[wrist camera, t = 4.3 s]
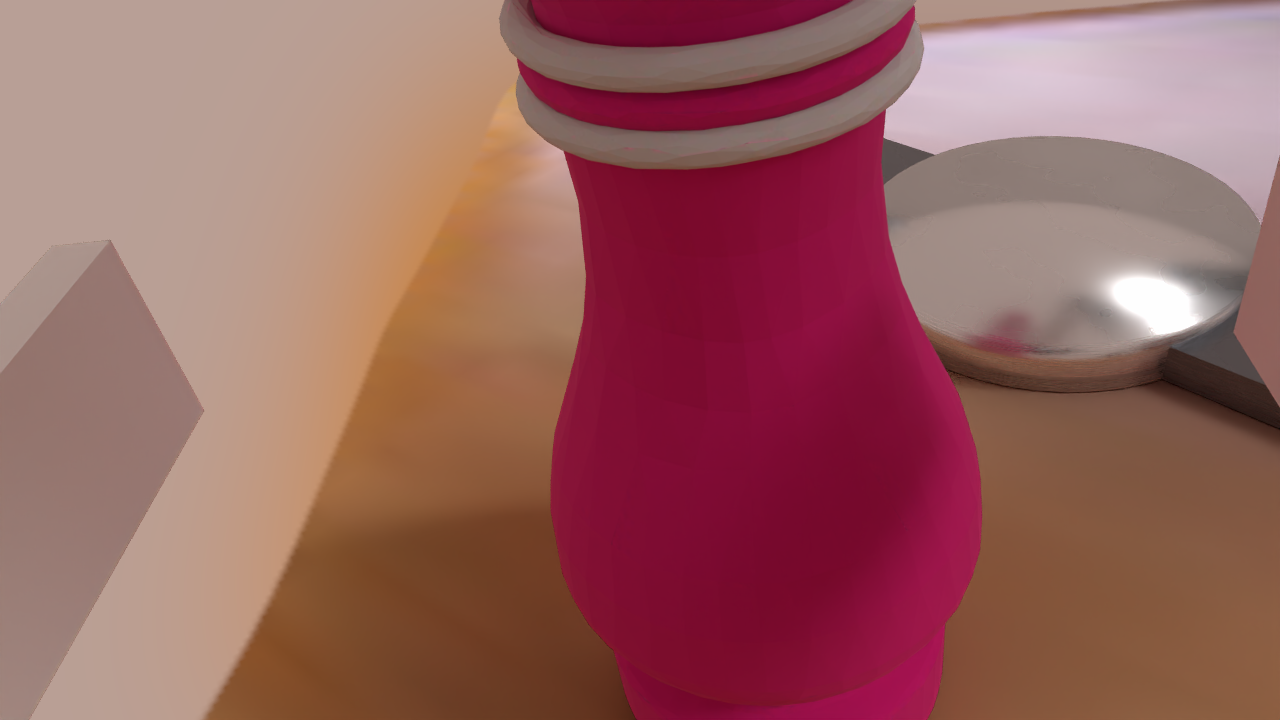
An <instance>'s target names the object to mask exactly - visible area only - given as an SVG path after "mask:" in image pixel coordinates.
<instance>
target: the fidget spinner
mask: <svg viewBox="0 0 1280 720" xmlns="http://www.w3.org/2000/svg"><path fill="white" fill-rule="evenodd" d="M881 164H882V174H883V184H884V193H885V203H886V212H887V222H888V232H889V239H890V242H891V246H892V249H893V253H894V256H895V260H896V263H897V266H898V270H899V273H900V277H901V280H902V283H903V286H904V288H905V290H906V292H907V295H908V297H909V299H910V302H911V304H912V306H913V308H914V311H915V313H916V315H917V318H918V320H919V322H920V324H921V326H922V328H923V330H924V332H925V333H926V335H927V337H928V339H929V341H930V342H931V344H932V346H933V348H934V350H935V351H936V353H937V355H938V357H939V359H940V360H941V362H942V364H943V366H944V368H946V369H949V370H951V371H953V372H956V373H959V374H962V375H965V376H968V377H971V378H975V379H978V380H981V381H985V382H990V383H994V384H999V385H1003V386H1008V387H1015V388H1022V389H1029V390H1036V391H1054V392H1094V391H1104V390H1113V389H1122V388H1128V387H1133V386H1138V385H1143V384H1148V383H1151V382H1155V381H1158V380H1161V379H1163V380H1165V381H1167V382H1170V383H1172V384H1175V385H1177V386H1179V387H1182V388H1184V389H1186V390H1189V391H1191V392H1194V393H1196V394H1198V395H1201V396H1203V397H1206V398H1208V399H1210V400H1213V401H1215V402H1217V403H1220V404H1222V405H1225V406H1227V407H1229V408H1232V409H1234V410H1236V411H1239V412H1241V413H1244V414H1246V415H1248V416H1251V417H1253V418H1256V419H1258V420H1260V421H1263V422H1265V423H1267V424H1270V425H1272V426H1275V427H1277V428H1279V429H1280V407H1279V405H1278V404H1277V402H1276V401H1275V399H1274V397H1273V396H1272V394H1271V392H1270V391H1269V389H1268V388H1267V386H1266V384H1265V383H1264V381H1263V379H1262V378H1261V376H1260V375H1259V373H1258V371H1257V370H1256V368H1255V367H1254V365H1253V363H1252V362H1251V360H1250V358H1249V357H1248V355H1247V354H1246V352H1245V350H1244V349H1243V347H1242V345H1241V344H1240V342H1239V341H1238V339H1237V337H1236V336H1235V334H1234V333H1233V332H1234V328H1235V324H1236V321H1237V317H1238V313H1239V309H1240V305H1241V302H1242V298H1243V294H1244V290H1245V286H1246V283H1247V279H1248V275H1249V271H1250V267H1251V264H1252V260H1253V256H1254V252H1255V248H1256V245H1257V241H1258V237H1259V233H1260V229H1261V226H1260V223H1259V221H1258V219H1257V218H1256V216H1255V214H1254V213H1253V211H1252V209H1251V208H1250V207H1249V206H1248V205H1247V203H1246V202H1245V201H1244V200H1243V199H1242V198H1241V197H1240V196H1239V195H1238V194H1237V193H1236V192H1235V191H1233V190H1232V189H1231V188H1230V187H1229V186H1227V185H1226V184H1225V183H1223V182H1222V181H1220V180H1219V179H1217V178H1215V177H1214V176H1212V175H1211V174H1209V173H1207V172H1205V171H1203V170H1201V169H1199V168H1197V167H1195V166H1193V165H1192V164H1189V163H1187V162H1184V161H1182V160H1179V159H1177V158H1174V157H1172V156H1169V155H1166V154H1163V153H1159V152H1156V151H1153V150H1150V149H1146V148H1142V147H1137V146H1133V145H1129V144H1124V143H1118V142H1113V141H1107V140H1099V139H1090V138H1081V137H1061V136H1035V137H1020V138H1008V139H1000V140H993V141H987V142H982V143H976V144H971V145H967V146H963V147H960V148H956V149H952V150H949V151H946V152H943V153H940V154H937V155H934V154H930V153H927V152H924V151H921V150H918V149H915V148H912V147H909V146H906V145H903V144H900V143H897V142H893V141H890V140H887V139H884V138H883V148H882V160H881Z"/></svg>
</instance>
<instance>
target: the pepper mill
mask: <svg viewBox="0 0 1280 720" xmlns="http://www.w3.org/2000/svg"><path fill="white" fill-rule="evenodd" d="M915 2H916V0H505V1H504V4H503V6H502V10H501V14H500V18H499V19H500V31H501V35H502V37H503V39H504V41H505V43H506V44H507V46H508V48H509V50H510V51H511V53H512V54H514V56H516V57H517V62H518V67H519V71H520V74H519V77H518V80H517V86H516V97H517V102H518V107H519V110H520V111H521V113H522V115H523V117H524V119H525V121H526V123H527V124H528V125H529V126H530V127H531V128H532V129H533V130H534V131H535V132H537V133H538V134H539V135H540V136H541V137H542V138H543V139H544V140H546V141H547V142H548V143H550V144H552V145H554V146H555V147H557V148H559V149H561V150H563V151H564V154H565V157H566V161H567V164H568V168H569V171H570V175H571V178H572V181H573V185H574V188H575V192H576V195H577V199H578V203H579V212H580V222H581V232H582V241H583V251H584V260H585V270H586V286H585V302H584V318H583V323H582V327H581V332H580V336H579V341H578V345H577V350H576V354H575V359H574V363H573V366H572V370H571V374H570V377H569V381H568V385H567V389H566V392H565V396H564V400H563V404H562V407H561V411H560V415H559V418H558V422H557V426H556V430H555V435H554V444H553V455H552V469H551V516H552V521H553V526H554V532H555V537H556V542H557V548H558V553H559V558H560V564H561V569H562V574H563V576H564V578H565V581H566V583H567V585H568V588H569V590H570V592H571V595H572V597H573V599H574V601H575V603H576V604H577V606H578V608H579V609H580V611H581V613H582V614H583V616H584V617H585V619H586V621H587V622H588V624H589V626H590V627H591V628H592V629H593V630H594V631H595V632H596V633H597V634H598V635H599V636H600V638H601V639H602V640H603V641H604V642H605V643H606V644H607V645H608V646H609V647H610V648H611V649H613V650H614V654H615V658H616V661H617V665H618V669H619V672H620V676H621V680H622V684H623V687H624V691H625V695H626V698H627V700H628V703H629V705H630V708H631V710H632V712H633V714H634V716H635V718H636V720H927V719H928V717H929V715H930V713H931V711H932V709H933V707H934V704H935V701H936V697H937V694H938V691H939V686H940V681H941V676H942V668H943V651H944V634H945V623H946V622H947V620H948V619H949V618H950V617H951V616H952V614H953V613H954V612H955V611H956V609H957V608H958V606H959V604H960V602H961V600H962V597H963V595H964V593H965V591H966V589H967V587H968V585H969V582H970V580H971V578H972V576H973V573H974V569H975V566H976V562H977V559H978V555H979V552H980V543H981V527H982V502H981V479H980V472H979V465H978V458H977V451H976V446H975V443H974V440H973V437H972V434H971V431H970V427H969V424H968V421H967V418H966V415H965V412H964V408H963V405H962V403H961V400H960V397H959V394H958V392H957V390H956V388H955V386H954V384H953V382H952V380H951V379H950V377H949V375H948V373H947V371H946V369H945V368H944V366H943V364H942V362H941V360H940V359H939V357H938V355H937V353H936V351H935V350H934V348H933V346H932V344H931V342H930V341H929V339H928V337H927V335H926V333H925V332H924V330H923V328H922V326H921V324H920V322H919V320H918V318H917V315H916V313H915V311H914V308H913V306H912V304H911V302H910V299H909V297H908V295H907V292H906V290H905V288H904V286H903V283H902V280H901V277H900V273H899V270H898V266H897V263H896V260H895V256H894V253H893V249H892V246H891V242H890V239H889V232H888V222H887V212H886V203H885V193H884V184H883V174H882V164H881V160H882V148H883V136H884V125H885V113H886V109H887V108H888V107H890V106H891V105H892V104H893V103H895V102H896V100H897V99H898V98H899V97H900V96H901V95H902V94H903V93H904V92H905V91H906V90H907V88H908V87H909V86H910V84H911V83H912V81H913V79H914V78H915V76H916V74H917V73H918V71H919V69H920V65H921V61H922V56H923V52H924V45H923V40H922V36H921V32H920V28H919V25H918V23H917V22H916V20H915V7H914V3H915Z"/></svg>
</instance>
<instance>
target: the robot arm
mask: <svg viewBox="0 0 1280 720" xmlns="http://www.w3.org/2000/svg"><path fill="white" fill-rule="evenodd" d="M1233 333H1234V334H1235V336H1236V337H1237V339H1238V341H1239V342H1240V344H1241V345H1242V347H1243V349H1244V350H1245V352H1246V354H1247V355H1248V357H1249V358H1250V360H1251V362H1252V363H1253V365H1254V367H1255V368H1256V370H1257V371H1258V373H1259V375H1260V376H1261V378H1262V379H1263V381H1264V383H1265V384H1266V386H1267V388H1268V389H1269V391H1270V392H1271V394H1272V396H1273V397H1274V399H1275V401H1276V402H1277V404H1278V405H1279V407H1280V157H1279V161H1278V165H1277V168H1276V172H1275V176H1274V180H1273V184H1272V187H1271V191H1270V195H1269V199H1268V203H1267V206H1266V210H1265V214H1264V218H1263V222H1262V225H1261V229H1260V233H1259V237H1258V241H1257V245H1256V248H1255V252H1254V256H1253V260H1252V264H1251V267H1250V271H1249V275H1248V279H1247V283H1246V286H1245V290H1244V294H1243V298H1242V302H1241V305H1240V309H1239V313H1238V317H1237V321H1236V324H1235V328H1234V332H1233ZM203 412H204V409H203V407H202V406H201V404H200V402H199V400H198V398H197V396H196V395H195V393H194V391H193V389H192V387H191V386H190V384H189V382H188V380H187V378H186V376H185V375H184V373H183V371H182V369H181V367H180V366H179V364H178V362H177V360H176V358H175V357H174V355H173V353H172V351H171V349H170V347H169V346H168V344H167V342H166V340H165V338H164V337H163V335H162V333H161V331H160V329H159V327H158V326H157V324H156V322H155V320H154V318H153V317H152V315H151V313H150V311H149V309H148V308H147V306H146V304H145V302H144V300H143V298H142V297H141V295H140V293H139V291H138V289H137V288H136V286H135V284H134V282H133V280H132V279H131V277H130V275H129V273H128V271H127V269H126V268H125V266H124V264H123V262H122V261H121V259H120V257H119V255H118V253H117V251H116V249H115V248H114V246H113V244H112V242H111V240H106V241H96V242H85V243H76V244H66V245H56V246H51V248H50V249H49V250H48V251H47V252H46V253H45V254H44V255H43V257H42V258H41V259H40V260H39V261H38V262H37V263H36V264H35V265H34V267H33V268H32V269H31V270H30V271H29V272H28V273H27V275H26V276H25V277H24V278H23V279H22V280H21V281H20V282H19V283H18V284H17V286H16V287H15V288H14V289H13V290H12V291H11V292H10V293H9V295H8V296H7V297H6V298H5V299H4V300H3V301H2V302H1V303H0V720H29V719H30V717H31V716H32V714H33V712H34V710H35V709H36V707H37V705H38V703H39V701H40V700H41V698H42V696H43V694H44V693H45V691H46V689H47V687H48V686H49V684H50V682H51V680H52V678H53V676H54V675H55V673H56V671H57V670H58V668H59V666H60V664H61V663H62V661H63V659H64V657H65V656H66V654H67V652H68V650H69V648H70V647H71V645H72V643H73V641H74V639H75V638H76V636H77V634H78V633H79V631H80V629H81V627H82V625H83V624H84V622H85V620H86V618H87V617H88V615H89V613H90V611H91V610H92V607H93V606H94V604H95V602H96V601H97V599H98V597H99V595H100V594H101V592H102V590H103V588H104V587H105V585H106V583H107V581H108V580H109V578H110V576H111V574H112V572H113V571H114V569H115V567H116V565H117V564H118V562H119V560H120V558H121V556H122V555H123V553H124V551H125V549H126V548H127V546H128V544H129V542H130V541H131V539H132V537H133V535H134V533H135V532H136V530H137V528H138V527H139V525H140V523H141V521H142V519H143V518H144V516H145V514H146V512H147V510H148V509H149V507H150V505H151V503H152V502H153V500H154V498H155V496H156V495H157V493H158V491H159V489H160V488H161V486H162V484H163V482H164V481H165V479H166V477H167V475H168V473H169V472H170V470H171V468H172V466H173V465H174V463H175V461H176V459H177V458H178V456H179V454H180V452H181V451H182V449H183V447H184V445H185V443H186V441H187V440H188V438H189V436H190V435H191V433H192V431H193V429H194V428H195V426H196V424H197V422H198V420H199V419H200V417H201V415H202V413H203Z"/></svg>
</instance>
